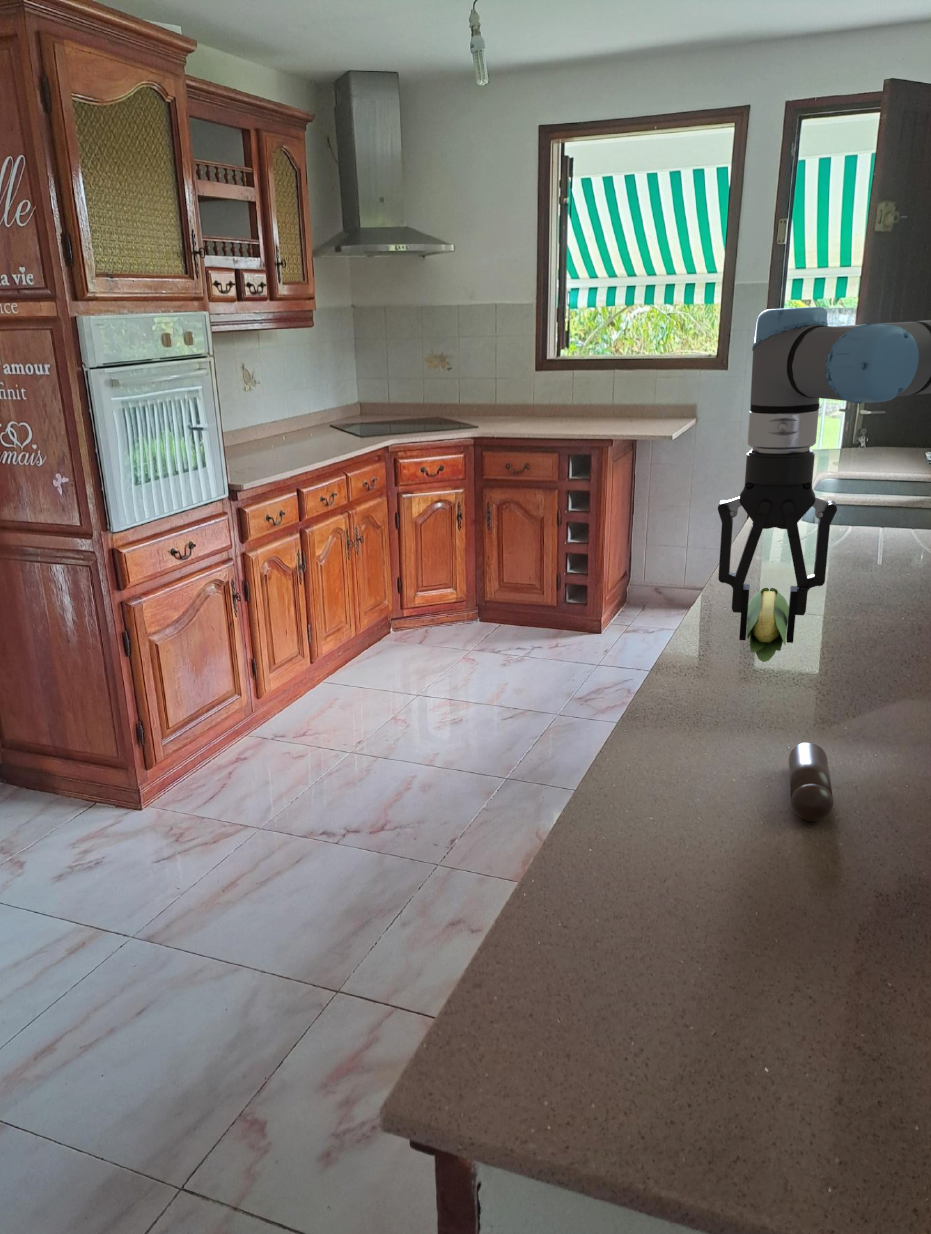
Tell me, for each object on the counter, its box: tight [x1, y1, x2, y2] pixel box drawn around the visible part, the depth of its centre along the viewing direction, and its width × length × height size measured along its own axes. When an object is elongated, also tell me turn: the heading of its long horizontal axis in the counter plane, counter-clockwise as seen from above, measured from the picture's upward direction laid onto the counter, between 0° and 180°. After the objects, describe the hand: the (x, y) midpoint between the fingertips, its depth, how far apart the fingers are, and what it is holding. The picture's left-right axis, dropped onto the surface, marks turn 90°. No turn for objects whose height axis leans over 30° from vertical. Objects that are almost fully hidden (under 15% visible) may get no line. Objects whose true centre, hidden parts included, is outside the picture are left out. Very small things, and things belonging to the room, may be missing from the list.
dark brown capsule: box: [788, 742, 834, 822], centre depth 103 cm, size 14×4×4 cm, turn 162°
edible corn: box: [746, 587, 789, 663], centre depth 121 cm, size 5×20×4 cm, turn 160°
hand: (766, 637), depth 121 cm, fingers closed on edible corn, 5 cm apart
